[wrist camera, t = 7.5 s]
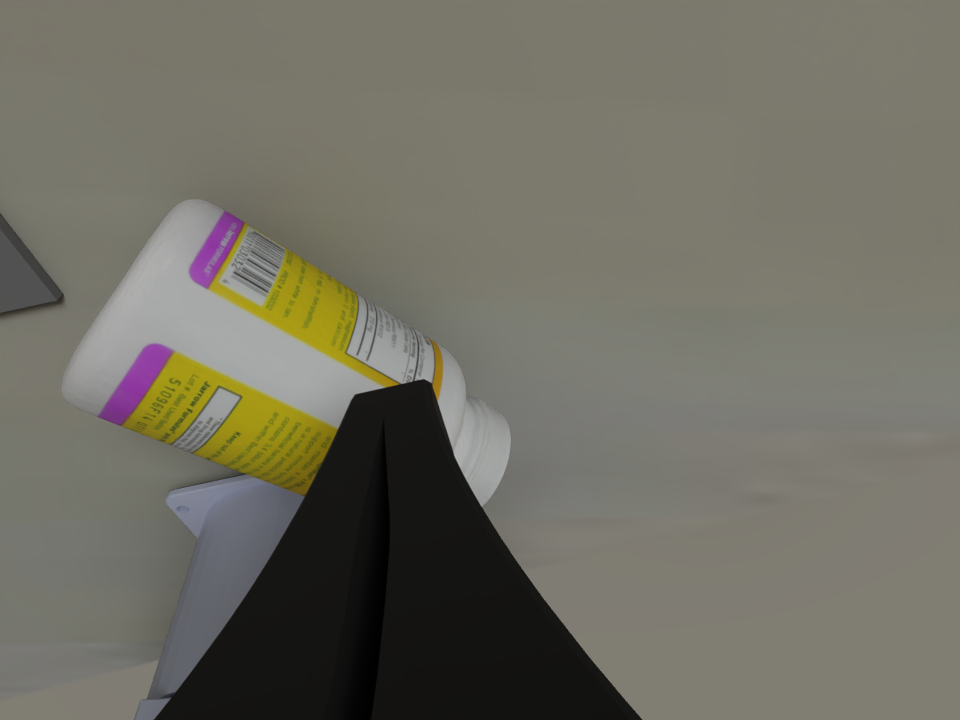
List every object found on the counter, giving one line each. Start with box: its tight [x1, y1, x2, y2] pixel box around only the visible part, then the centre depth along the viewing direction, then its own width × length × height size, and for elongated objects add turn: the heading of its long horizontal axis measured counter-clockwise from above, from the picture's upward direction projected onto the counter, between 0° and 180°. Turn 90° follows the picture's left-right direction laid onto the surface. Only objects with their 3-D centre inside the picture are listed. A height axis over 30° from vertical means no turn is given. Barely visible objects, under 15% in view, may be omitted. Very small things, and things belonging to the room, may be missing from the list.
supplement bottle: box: [62, 199, 511, 507], centre depth 18 cm, size 7×7×13 cm
